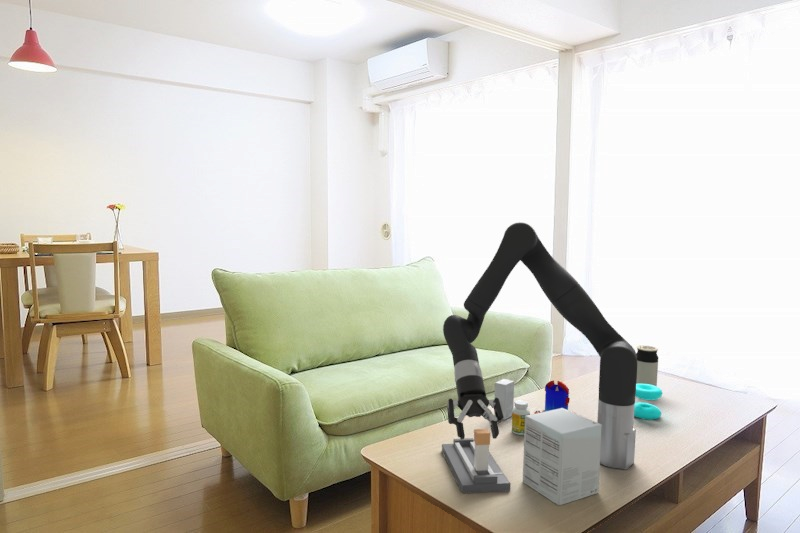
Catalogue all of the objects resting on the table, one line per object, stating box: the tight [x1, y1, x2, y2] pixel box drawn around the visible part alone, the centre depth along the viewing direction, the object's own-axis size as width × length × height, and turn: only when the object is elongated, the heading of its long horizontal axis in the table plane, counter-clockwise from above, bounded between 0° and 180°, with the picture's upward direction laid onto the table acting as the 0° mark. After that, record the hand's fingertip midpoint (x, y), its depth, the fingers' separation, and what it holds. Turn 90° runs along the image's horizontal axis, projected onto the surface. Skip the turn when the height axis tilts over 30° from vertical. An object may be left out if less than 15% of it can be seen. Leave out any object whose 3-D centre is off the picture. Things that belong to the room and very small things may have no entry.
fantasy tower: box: [533, 380, 570, 414], centre depth 185 cm, size 12×12×12 cm
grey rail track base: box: [441, 437, 511, 494], centre depth 144 cm, size 24×12×4 cm, turn 7°
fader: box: [473, 428, 491, 475], centre depth 137 cm, size 3×3×11 cm
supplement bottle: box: [511, 399, 531, 436], centre depth 169 cm, size 5×5×10 cm
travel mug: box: [636, 345, 659, 387], centre depth 208 cm, size 8×8×18 cm
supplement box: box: [522, 408, 602, 506], centre depth 134 cm, size 13×13×18 cm
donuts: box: [634, 384, 663, 421], centre depth 185 cm, size 10×10×10 cm
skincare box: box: [493, 378, 515, 421], centre depth 182 cm, size 6×4×12 cm
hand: (479, 437), depth 139 cm, fingers open, 8 cm apart
